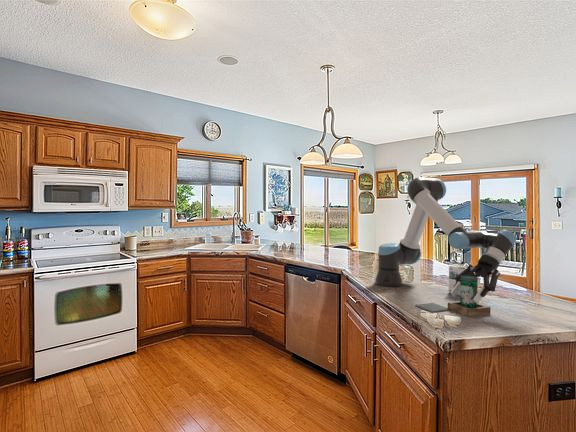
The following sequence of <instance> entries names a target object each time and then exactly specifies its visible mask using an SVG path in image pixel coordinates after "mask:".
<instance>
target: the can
mask: <svg viewBox="0 0 576 432" xmlns="http://www.w3.org/2000/svg"><path fill="white" fill-rule="evenodd" d="M478 279H479V278H478V277H475V276H467V275H463V276H461V280H460V295H459V301H460V305H461V306H464V307H467V308H477V303H476V302H475V301H474V300H473V299H474V297H475V296H476V294H477V293H478V289H479V288H478V281H479V280H478Z"/></svg>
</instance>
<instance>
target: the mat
mask: <svg viewBox="0 0 576 432" xmlns="http://www.w3.org/2000/svg"><path fill="white" fill-rule="evenodd" d="M414 306H415V307H417V308H418V309H422V310H424V311H426V312H428V313H429V312H430V313H432V314H433V313H439V312H441V313H442V312H448V311H451V310H450V309H449V308H448V307H447V306H443V305H440V304H437V303H434V302H428V303H427V302H426V303H419V304H415V305H414Z"/></svg>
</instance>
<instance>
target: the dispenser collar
mask: <svg viewBox="0 0 576 432" xmlns="http://www.w3.org/2000/svg"><path fill="white" fill-rule="evenodd" d="M447 308H449V309H450V310H449V311H452V312H455V313H458V314H460V315H463V316H466V317H468V318H475V317H481V316H488V315H491V306H488V305H486V304H481V303H480V302H479V303H478V304H477V308H467V307H464V306H461V305H460V300H456V301H448V302H447Z"/></svg>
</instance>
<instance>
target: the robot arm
mask: <svg viewBox="0 0 576 432" xmlns="http://www.w3.org/2000/svg"><path fill="white" fill-rule="evenodd" d="M406 191H407V192H406V193H407V196H408V197H409V199H410V200H411V201H412V202H413V203H414V204H415V207H414V210H413V213H412V215H411V218H410V220H409V224H408V226H407V229H406V232H405V235H404V238H401V239H400V241H399V243H395V242H394V243H393V242H389V243H383V244H381V245H379V247H378V251H377V252H378V257H377V258H378V261H377V262H378V268H377V269H378V270H377V273H376V276H375V281H374V282H375V283H374V284H375V285H378V286H382V287H392V288H393V287H394V288H395V287H401V286H402V285H403V279H402V276H401V273H400V266H404V265H414V264H416V263H418V262H419V261H420V259H421V257H422V250H421V245H420V241H421V238H422V237H423V233H424V230H425V227H426V225H427V222H428V220H429V218H430V219H431V220H432V221H433V223H435V224H436V225H437V226H438V227H439V229H440V230H442V232H443V233H444V234H445V235H446V236H447V238H448V243H449V246H450V247H451V248H452V249H456V250H466V249H480V248H481V249H485V251H484V252H483V253H482V255H481V256H480V257H479V259H478V261H477V264H475V265H472V264H469V265H468V266H467V267H466V269H465V270H464V271H463V272H462V273H460V274H459V275H458V276H457V277H455V280H456V281H457V283H456V284H455V285H454V288H453V290H452V291H451V292H450V294H451V295H452V297H457V296H458V295H457V293H458V292H459V291H460V280H461V276H463V275H467V276H475V277H477V278H478V277H480V278H483V285H482V287H481V288H480V289H479V290H478V291H477V294H476V296H475V297H474V299H473V300H474V301H475V302H476V303H477V304H478V303H479V304H480V302H481V301H482V299H483V298H484V297H486V295H487V294H488V293H489V292H494V293H495V292H496V287H497V284H498V283H497V282H498V279H499V277H500V275H501V273H500V271H499V269H498V268H499V266H500V264H501V263H502V262H503V261H504V259H505V258H506V256H507V254H508V253H509V252H510V251H511V249H512V248H513V247H514V245H515V243H516V241H517V237H516V234H514V233H513V232H511V231H509V230H507V229H503V230H499V231H498V232H497V233H489V232H484V231H480V230H469V231H466V230H465V228H463V226H461V224H459V223H458V222H457V221H456V219H454V218H453V216H452V215H451V214H450V213H449V212H448V211H447V210H446V209H445V208H444V207H443V206H442V205H441V204H440V203H439V200H441V199H443V198H444V197H445V196H446V194H447V186H446V185H445V182H444V181H443V180H441V179H440V178H435V177H416V178H414V179H412V180H411V181H409V183H408V184H407V188H406ZM490 276H491V277H490Z"/></svg>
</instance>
